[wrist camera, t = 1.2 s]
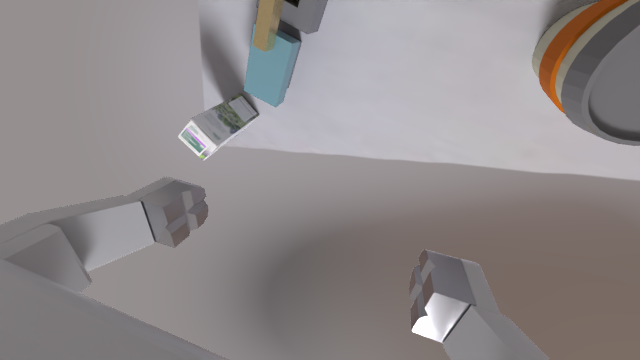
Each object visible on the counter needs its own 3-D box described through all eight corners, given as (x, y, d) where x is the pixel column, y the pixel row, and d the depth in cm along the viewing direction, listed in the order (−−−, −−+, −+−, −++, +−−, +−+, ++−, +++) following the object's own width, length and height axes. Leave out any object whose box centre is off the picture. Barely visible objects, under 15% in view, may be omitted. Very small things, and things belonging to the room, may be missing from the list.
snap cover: (264, 22, 33) (253, 23, 31) (300, 41, 33) (292, 43, 31) (252, 85, 40) (243, 90, 38) (283, 101, 40) (275, 107, 38)
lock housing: (285, -63, 30) (268, -73, 26) (338, -35, 30) (328, -41, 26) (260, 72, 42) (245, 79, 38) (298, 92, 42) (287, 101, 39)
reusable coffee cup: (525, 2, 27) (610, 0, 16) (685, -42, 23) (969, -89, 11) (507, 104, 34) (558, 154, 23) (628, 87, 29) (770, 140, 18)
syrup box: (226, 108, 49) (175, 137, 38) (241, 91, 46) (189, 119, 35) (245, 128, 51) (201, 162, 40) (260, 114, 48) (217, 147, 37)
